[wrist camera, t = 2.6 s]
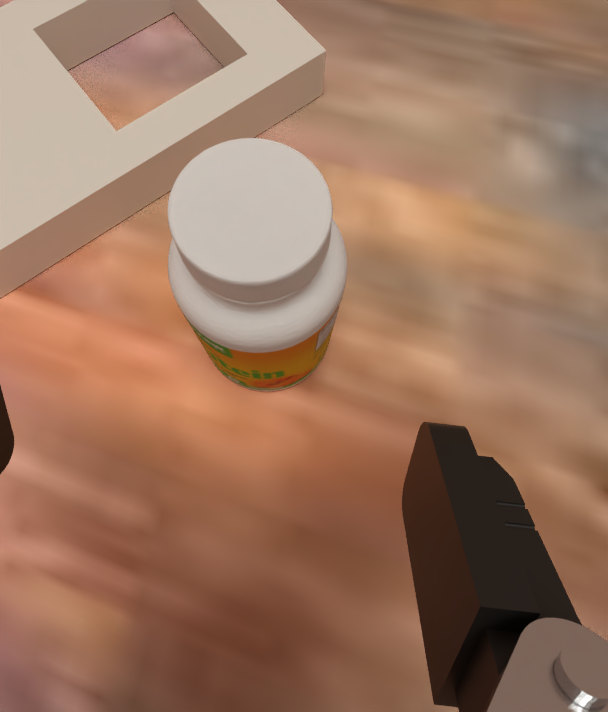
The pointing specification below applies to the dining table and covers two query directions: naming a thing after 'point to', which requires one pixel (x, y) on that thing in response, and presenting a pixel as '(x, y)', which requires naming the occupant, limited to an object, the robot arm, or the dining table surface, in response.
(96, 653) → the dining table surface
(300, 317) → the supplement bottle
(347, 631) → the dining table surface
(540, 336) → the dining table surface
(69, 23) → the socket rail
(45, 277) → the dining table surface
